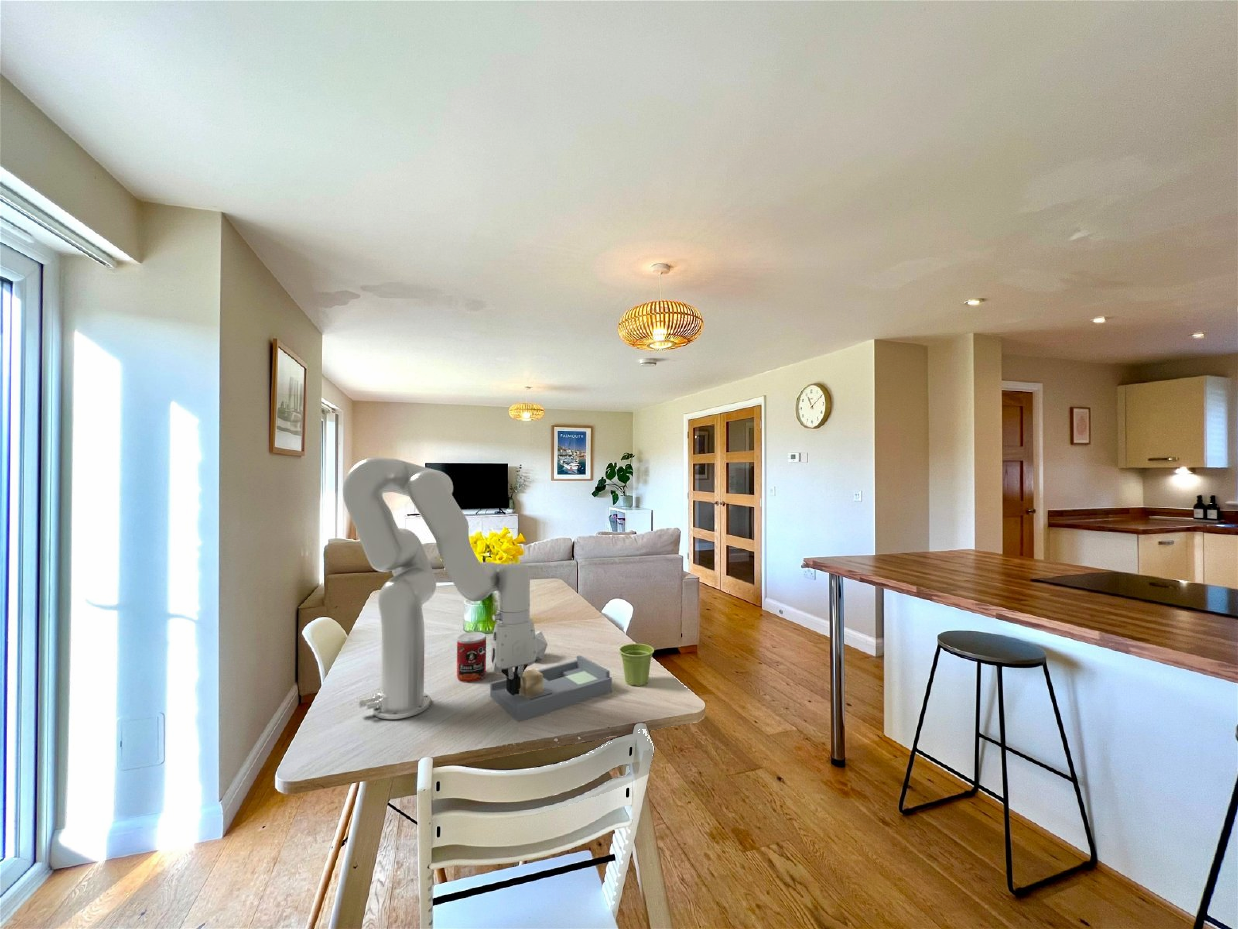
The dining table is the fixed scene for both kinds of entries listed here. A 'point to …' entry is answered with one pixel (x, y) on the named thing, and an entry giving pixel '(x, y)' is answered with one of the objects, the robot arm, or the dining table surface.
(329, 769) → the dining table surface
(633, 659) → the plant pot
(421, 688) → the robot arm
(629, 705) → the dining table surface
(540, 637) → the die
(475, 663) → the canned food
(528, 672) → the block
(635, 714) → the dining table surface
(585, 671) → the box
